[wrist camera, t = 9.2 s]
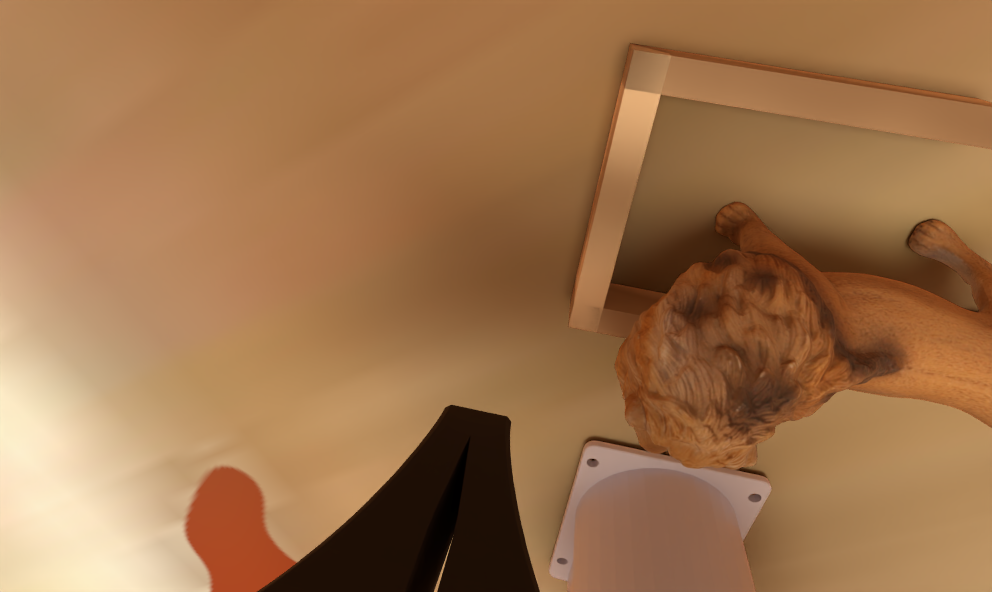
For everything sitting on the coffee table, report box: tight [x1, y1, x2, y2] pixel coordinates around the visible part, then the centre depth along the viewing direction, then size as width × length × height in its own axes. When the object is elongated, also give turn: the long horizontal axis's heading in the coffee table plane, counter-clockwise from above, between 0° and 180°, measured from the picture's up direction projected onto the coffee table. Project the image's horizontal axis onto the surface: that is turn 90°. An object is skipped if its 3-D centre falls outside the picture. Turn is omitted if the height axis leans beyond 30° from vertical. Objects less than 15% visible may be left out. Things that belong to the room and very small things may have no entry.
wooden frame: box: [568, 43, 992, 338], centre depth 18 cm, size 9×10×2 cm
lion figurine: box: [615, 202, 992, 470], centre depth 15 cm, size 15×5×9 cm, turn 94°
